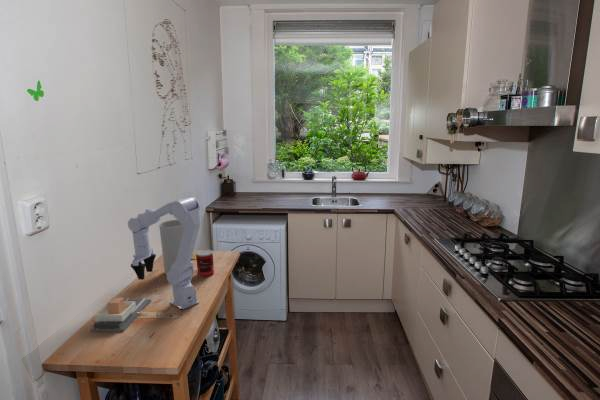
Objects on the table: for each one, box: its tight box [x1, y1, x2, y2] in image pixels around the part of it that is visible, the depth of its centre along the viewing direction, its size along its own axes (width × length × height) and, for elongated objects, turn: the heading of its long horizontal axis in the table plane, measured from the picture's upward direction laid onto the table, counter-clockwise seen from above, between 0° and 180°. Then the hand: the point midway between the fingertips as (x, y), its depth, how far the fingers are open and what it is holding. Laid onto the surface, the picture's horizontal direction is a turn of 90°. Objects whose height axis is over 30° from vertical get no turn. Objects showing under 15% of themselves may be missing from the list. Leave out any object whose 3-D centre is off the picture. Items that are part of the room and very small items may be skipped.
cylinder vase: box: [159, 219, 184, 276], centre depth 177 cm, size 12×12×25 cm
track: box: [90, 298, 152, 333], centre depth 141 cm, size 22×12×3 cm, turn 177°
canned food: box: [195, 249, 215, 278], centre depth 176 cm, size 8×8×11 cm
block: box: [106, 297, 125, 314], centre depth 136 cm, size 4×4×5 cm
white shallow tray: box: [94, 302, 136, 322], centre depth 136 cm, size 10×10×4 cm
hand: (145, 275), depth 154 cm, fingers open, 7 cm apart
